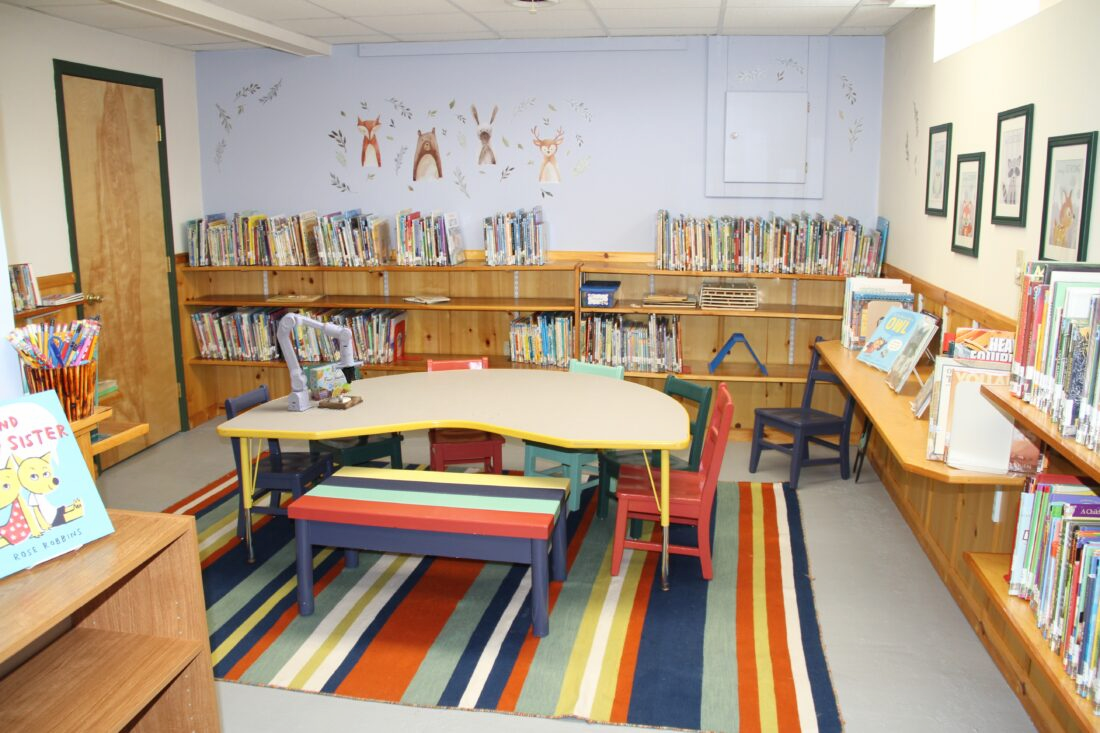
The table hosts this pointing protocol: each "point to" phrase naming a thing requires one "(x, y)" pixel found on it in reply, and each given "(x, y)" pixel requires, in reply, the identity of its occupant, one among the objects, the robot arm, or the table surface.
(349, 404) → the dial board
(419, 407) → the table surface
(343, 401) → the dial
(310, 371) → the snack box
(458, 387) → the table surface
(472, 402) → the table surface
